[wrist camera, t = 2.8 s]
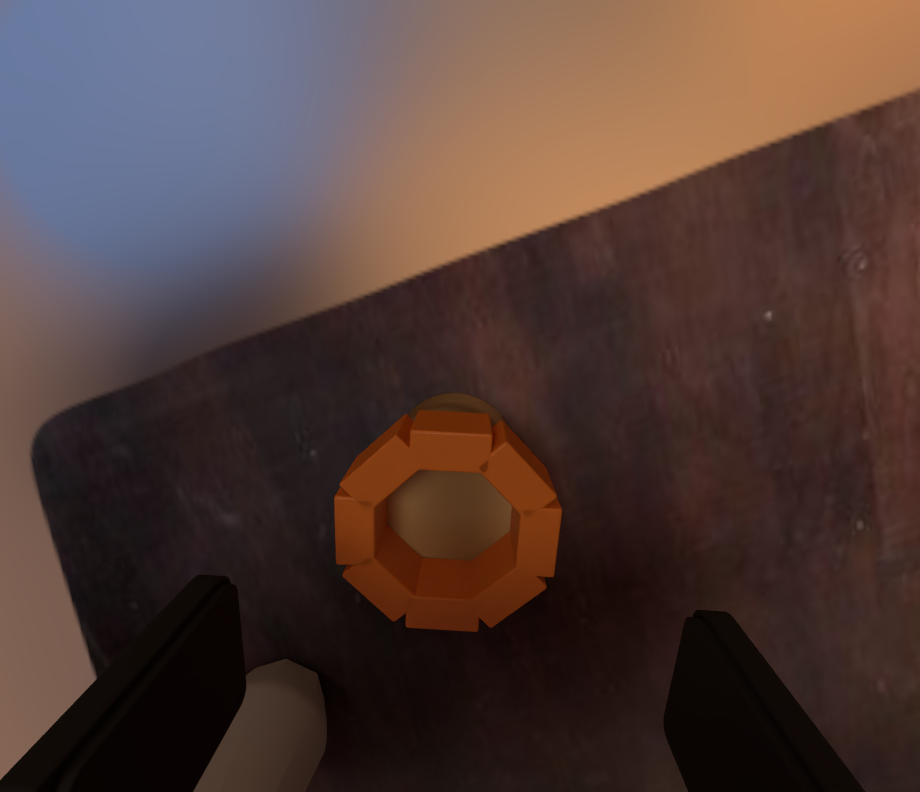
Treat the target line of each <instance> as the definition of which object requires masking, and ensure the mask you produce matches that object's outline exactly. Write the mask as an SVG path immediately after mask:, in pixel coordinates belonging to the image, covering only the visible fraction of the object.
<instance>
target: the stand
mask: <svg viewBox="0 0 920 792" xmlns="http://www.w3.org/2000/svg"><path fill="white" fill-rule="evenodd" d="M419 410H431V411H449V412H467V413H485V414H489V415H490V420H491V427H493V426H494V425H495V424H496V423H498V422H499V421H501V420H502V421H504V422H505V420H504V418H503V417H502V416H501V414H500V413H499V412H498V411H497V410H496V409H495V408H494V407H493V406H491V405H490V404H488V403H487V402H485V401H483V400H482V399H480V398H477V397H475V396H472V395H468V394H462V393H446V394H440V395H436V396H433V397H431V398H428V399H426V400H425V401H423V402H421V403H420V404H418V405H417V406H416V407H414V408H413V409H412V410H411V411H410V412H409V414H408V416H409V417H410V418H411V419H412V420H413V421H414V420H415V417H416V415H417V412H418V411H419ZM505 423H506V422H505ZM506 425H507V423H506ZM507 426H508V425H507ZM511 511H512V505H511V504H510V503H509V502H508V501H507V500H506V499H505V498H504V497H503V496H502V495H501V494H500V493H499V492H498V491H497V490H496V489H495V488H494V487H493V486H492V485H491V484H490V483H489V482H488V481H487V479H486V478H485V477H484V476H483V475H482V474H481V473H467V472H449V471H431V470H418V471H417V472H416V473H415V474H414V475H412V476H411V477H410V478H409V479H408V480H406V481H405V482H404V483H403V484H402V485H401V486H399V487H398V488H397V489H396V490H395V491H393V492H392V493H391V494H390V495H389V496H387V525H388V526H389V527H390V528H391V529H392V530H393V531H394V532H395V533H396V534H397V535H398V536H399V537H400V538H401V539H403V540H404V541H405V542H406V543H407V544H408V545H409V546H410V547H411V548H412V549H413V550H414V551H415V552H416V553H417V554H418V555H419V556H420V557H422V558H439V559H456V560H473V559H474V558H475V557H477V556H478V555H479V554H481V553H482V552H483V551H485V550H486V549H487V548H489V547H490V546H491V545H492V544H494V543H495V542H496V541H498V540H499V539H500V538H502V537H503V536H504V535H506V534H507V533H508V532H510V522H511Z"/></svg>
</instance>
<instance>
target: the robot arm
mask: <svg viewBox="0 0 920 792" xmlns="http://www.w3.org/2000/svg"><path fill="white" fill-rule="evenodd" d="M245 693H246V674H245V664H244V653H243V643H242V633H241V622H240V612H239V601H238V591H237V587H236V586H235V585H233V584H231V583H230V580H229V578H228V577H225V576H213V575H197V576H196V577H194V578H193V579H192V580H191V581H190V582H189V583H188V584H187V585H186V586H185V587H184V588H183V589H182V590H181V592H180V593H179V594H178V595H177V596H176V597H175V598H174V599H173V600H172V601H171V602H170V603H169V604H168V605H167V606H166V607H165V608H164V609H163V610H162V611H161V612H160V613H159V615H158V616H157V617H156V618H155V619H154V620H153V621H152V622H151V623H150V624H149V625H148V626H147V627H146V628H145V629H144V630H143V631H142V632H141V633H140V634H139V635H138V637H137V638H136V639H135V640H134V641H133V642H132V643H131V644H130V645H129V646H128V647H127V648H126V649H125V650H124V651H123V652H122V653H121V654H120V655H119V656H118V657H117V658H116V660H115V661H114V662H113V663H112V664H111V665H110V666H109V667H108V668H107V669H106V670H105V671H104V672H103V673H102V674H101V675H100V676H99V677H98V678H97V679H96V681H95V682H94V683H93V684H92V685H91V686H90V687H89V688H88V689H87V690H86V691H85V692H84V693H83V694H82V695H81V696H80V697H79V698H78V699H77V700H76V701H75V702H74V704H73V705H72V706H71V707H70V708H69V709H68V710H67V711H66V712H65V713H64V714H63V715H62V716H61V717H60V718H59V719H58V721H56V722H55V723H54V725H52V727H51V728H50V729H49V730H48V731H47V732H46V733H45V734H44V735H43V736H42V737H41V738H40V739H39V740H38V741H37V742H36V743H35V744H34V745H33V746H32V747H31V749H30V750H29V751H28V752H27V753H26V754H25V755H24V756H23V757H22V758H21V759H20V760H19V761H18V762H17V763H16V764H15V765H14V766H13V767H12V768H11V769H10V770H9V772H8V773H7V774H6V775H5V776H4V777H3V778H2V779H1V780H0V792H193V791H194V790H195V788H196V786H197V784H198V782H199V781H200V779H201V777H202V775H203V773H204V772H205V770H206V768H207V766H208V764H209V763H210V761H211V759H212V757H213V755H214V754H215V752H216V750H217V748H218V746H219V745H220V743H221V741H222V739H223V737H224V736H225V734H226V732H227V730H228V728H229V727H230V725H231V723H232V721H233V719H234V718H235V716H236V714H237V712H238V710H239V709H240V707H241V705H242V703H243V700H244V697H245ZM664 731H665V735H666V738H667V741H668V743H669V746H670V748H671V751H672V753H673V756H674V758H675V760H676V763H677V765H678V768H679V770H680V773H681V775H682V777H683V780H684V782H685V785H686V787H687V790H688V792H865V791H864V789H863V788H862V787H861V785H860V784H859V783H858V782H857V780H856V779H855V778H854V776H853V775H852V774H851V772H850V771H849V770H848V768H847V767H846V766H845V764H844V763H843V762H842V760H841V759H840V758H839V756H838V755H837V754H836V752H835V751H834V750H833V748H832V747H831V746H830V745H829V743H828V742H827V741H826V739H825V738H824V737H823V735H822V734H821V733H820V731H819V730H818V729H817V727H816V726H815V725H814V723H813V722H812V721H811V719H810V718H809V717H808V715H807V714H806V713H805V712H804V710H803V709H802V708H801V706H800V705H799V704H798V702H797V701H796V700H795V698H794V697H793V696H792V694H791V693H790V692H789V690H788V689H787V688H786V686H785V685H784V684H783V682H782V681H781V680H780V678H779V677H778V676H777V675H776V673H775V672H774V671H773V669H772V668H771V667H770V665H769V664H768V663H767V661H766V660H765V659H764V657H763V656H762V655H761V653H760V652H759V651H758V649H757V648H756V647H755V645H754V644H753V643H752V642H751V640H750V639H749V638H748V636H747V635H746V634H745V632H744V631H743V630H742V628H741V627H740V626H739V624H738V623H737V622H736V620H735V619H734V618H733V617H732V616H731V615H730V614H729V613H727V612H721V611H707V610H696V611H695V612H694V614H693V617H687V619H686V620H685V623H684V628H683V632H682V637H681V641H680V646H679V650H678V655H677V659H676V664H675V668H674V673H673V677H672V682H671V686H670V691H669V695H668V700H667V704H666V709H665V713H664Z"/></svg>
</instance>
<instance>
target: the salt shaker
mask: <svg viewBox="0 0 920 792" xmlns="http://www.w3.org/2000/svg"><path fill="white" fill-rule="evenodd" d="M326 742H327V718H326V712H325V700H324V696H323V692H322V689H321V685H320V681H319V678H318V674H317V673H315V672H313V671H311V670H309V669H307V668H305V667H303V666H301V665H299V664H296V663H294V662H292V661H290V660H288V659H283V660H280V661H277V662H273V663H270V664H267V665H263V666H260V667H257V668H255V669H254V670H252V671H251V672H250V673H248V674H247V675H246V693H245V697H244V700H243V703H242V705H241V707H240V709H239V710H238V712H237V714H236V716H235V718H234V719H233V721H232V723H231V725H230V727H229V728H228V730H227V732H226V734H225V736H224V737H223V739H222V741H221V743H220V745H219V746H218V748H217V750H216V752H215V754H214V755H213V757H212V759H211V761H210V763H209V764H208V766H207V768H206V770H205V772H204V773H203V775H202V777H201V779H200V781H199V782H198V784H197V786H196V788H195V790H194V791H193V792H305V791H306V789H307V787H308V785H309V783H310V781H311V779H312V777H313V775H314V773H315V771H316V769H317V767H318V764H319V762H320V760H321V758H322V756H323V754H324V752H325V747H326Z"/></svg>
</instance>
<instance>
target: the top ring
mask: <svg viewBox="0 0 920 792" xmlns="http://www.w3.org/2000/svg"><path fill="white" fill-rule="evenodd" d="M418 470H431V471H449V472H467V473H481V474H482V475H483V476H484V477H485V478H486V479H487V481H488V482H489V483H490V484H491V485H492V486H493V487H494V488H495V489H496V490H497V491H498V492H499V493H500V494H501V495H502V496H503V497H504V498H505V499H506V500H507V501H508V502H509V503H510V504H511V505H512V511H511V522H510V532H508V533H507V534H506V535H504V536H503V537H502V538H500V539H499V540H498V541H496V542H495V543H494V544H492V545H491V546H490V547H489V548H487V549H486V550H485V551H483V552H482V553H481V554H479V555H478V556H477V557H475V558H474V559H473V560H456V559H439V558H422V557H420V556H419V555H418V554H417V553H416V552H415V551H414V550H413V549H412V548H411V547H410V546H409V545H408V544H407V543H406V542H405V541H404V540H403V539H401V538H400V537H399V536H398V535H397V534H396V533H395V532H394V531H393V530H392V529H391V528H390V527H389V526H388V525H387V496H389V495H390V494H391V493H392V492H393V491H395V490H396V489H397V488H398V487H399V486H401V485H402V484H403V483H404V482H405V481H406V480H408V479H409V478H410V477H411V476H412V475H414V474H415V473H416V472H417V471H418ZM340 486H341V487H340V489H339V490H338V492H337V494H336V495H335V497H334V507H335V543H336V563H337V564H339V565H346V568H345V570H344V572H343V577H344V578H345V579H346V580H347V581H348V582H349V583H350V584H352V585H353V586H354V587H355V588H356V589H357V590H358V591H359V592H360V593H362V594H363V595H364V596H365V597H366V598H367V599H368V600H369V601H370V602H372V603H373V604H374V605H375V606H376V607H377V608H378V609H379V610H380V611H382V612H383V613H384V614H385V615H386V616H387V617H388V618H389V619H390V620H392V621H393V622H394V621H396V620H397V619H399V618H400V617H401V616H403V615H404V614H405V613H406V627H407V628H421V629H438V630H454V631H471V632H477V631H478V629H479V618H480V619H481V620H482V621H483V622H484V623H485V624H486V625H488V626H489V627H490V628H492V627H493V626H495V625H496V624H497V623H499V622H500V621H502V620H503V619H504V618H506V617H507V616H509V615H510V614H511V613H513V612H514V611H516V610H517V609H518V608H520V607H521V606H523V605H524V604H525V603H527V602H528V601H530V600H531V599H532V598H534V597H535V596H537V595H538V594H539V593H541V592H542V591H544V590H545V589H546V588H547V586H546V582H545V578H544V577H553V576H554V573H555V565H556V557H557V549H558V541H559V533H560V525H561V517H562V509H561V506H560V503H559V501H558V498H557V494H556V492H555V489H554V487H553V484H552V482H551V479H550V477H549V474H548V472H547V469H546V467H545V466H544V465H543V464H542V463H541V462H540V460H539V459H538V458H537V457H536V456H535V455H534V454H533V453H532V452H531V451H530V450H529V448H528V447H527V446H526V445H525V444H524V443H523V442H522V441H521V440H520V439H519V438H518V437H517V435H516V434H515V433H514V432H513V431H512V430H511V429H510V428H509V427H508V426H507V425H506V423H505V422H504V421H502V420H501V421H499V422H498V423H496V424H495V425H494V426H493V427H491V420H490V415H489V414H485V413H467V412H449V411H431V410H419V411H418V412H417V415H416V417H415V420H414V421H413V420H412V419H411V418H410V417H409V416H408V415H407V414H405V415H404V416H403V417H401V418H400V419H399V420H398V421H397V422H396V423H395V424H393V425H392V426H391V427H390V428H389V429H388V430H387V431H386V432H384V433H383V434H382V435H381V436H380V437H379V438H378V439H377V440H375V441H374V442H373V443H372V444H371V445H370V446H369V447H367V448H366V449H365V450H364V451H363V452H362V453H361V454H360V455H358V456H357V457H356V459H355V461H354V462H353V464H352V465H351V467H350V468H349V470H348V472H347V473H346V475H345V476H344V478H343V479H342V481H341V483H340Z"/></svg>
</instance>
